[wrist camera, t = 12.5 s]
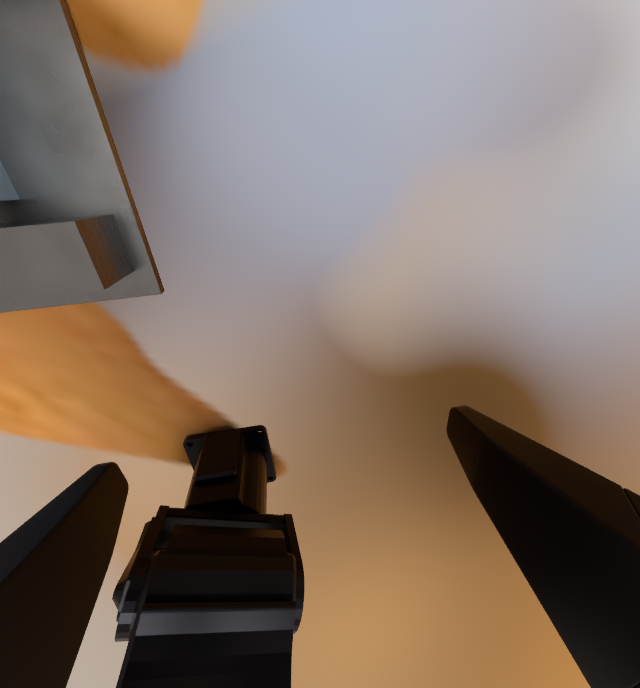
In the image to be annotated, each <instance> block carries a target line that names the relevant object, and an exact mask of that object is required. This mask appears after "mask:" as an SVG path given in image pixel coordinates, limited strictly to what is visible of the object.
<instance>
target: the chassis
mask: <svg viewBox="0 0 640 688" xmlns="http://www.w3.org/2000/svg"><path fill="white" fill-rule="evenodd" d="M0 161H1V163H2V165H3V167H4V169H5V171H6V173H7V175H8V177H9V178H10V180H11V182H12V184H13V186H14V188H15V190H16V192H17V194H18V196H19V198H20V199H19V200H7V201H0V313H2V312H11V311H19V310H28V309H36V308H45V307H54V306H62V305H71V304H80V303H88V302H97V301H105V300H113V299H123V298H130V297H139V296H148V295H157V294H162V293H163V292H164V288H163V285H162V282H161V279H160V276H159V273H158V270H157V267H156V264H155V262H154V258H153V256H152V253H151V250H150V247H149V244H148V241H147V238H146V235H145V232H144V229H143V226H142V223H141V220H140V218H139V215H138V211H137V209H136V206H135V203H134V200H133V197H132V194H131V191H130V188H129V185H128V182H127V179H126V176H125V173H124V171H123V167H122V165H121V162H120V159H119V156H118V153H117V150H116V147H115V144H114V141H113V138H112V135H111V132H110V129H109V126H108V123H107V120H106V118H105V115H104V112H103V109H102V106H101V103H100V100H99V97H98V94H97V91H96V88H95V85H94V82H93V79H92V76H91V74H90V71H89V68H88V65H87V62H86V59H85V56H84V53H83V50H82V47H81V44H80V41H79V38H78V35H77V32H76V29H75V27H74V24H73V21H72V18H71V15H70V12H69V9H68V6H67V3H66V0H0Z"/></svg>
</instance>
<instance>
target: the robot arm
mask: <svg viewBox="0 0 640 688" xmlns="http://www.w3.org/2000/svg"><path fill="white" fill-rule="evenodd" d="M258 431H262V432H258ZM447 435H448V438H449V440H450V442H451V444H452V446H453V449H454V451H455V453H456V455H457V457H458V459H459V461H460V463H461V465H462V468H463V470H464V472H465V474H466V476H467V478H468V480H469V482H470V484H471V486H472V488H473V490H474V492H475V494H476V495H477V497H478V499H479V500H480V502H481V504H482V505H483V507H484V509H485V511H486V512H487V514H488V516H489V517H490V519H491V521H492V522H493V524H494V526H495V527H496V529H497V531H498V532H499V534H500V536H501V538H502V539H503V541H504V543H505V544H506V546H507V548H508V549H509V551H510V553H511V554H512V556H513V558H514V559H515V561H516V563H517V564H518V566H519V568H520V569H521V571H522V572H523V574H524V576H525V578H526V579H527V581H528V583H529V585H530V586H531V588H532V590H533V591H534V593H535V595H536V596H537V598H538V600H539V601H540V603H541V605H542V606H543V608H544V610H545V611H546V613H547V615H548V616H549V618H550V620H551V621H552V623H553V625H554V626H555V628H556V630H557V632H558V633H559V635H560V637H561V638H562V640H563V641H564V643H565V645H566V647H567V648H568V650H569V652H570V653H571V655H572V657H573V658H574V660H575V662H576V663H577V665H578V667H579V669H580V670H581V672H582V674H583V675H584V677H585V679H586V680H587V682H588V684H589V685H590V687H591V688H640V496H639V495H637V494H636V493H634V492H632V491H630V490H628V489H625V488H624V489H623V488H622V487H621V486H620V485H618V484H616V483H614V482H612V481H610V480H608V479H607V478H605V477H603V476H601V475H599V474H597V473H595V472H593V471H591V470H589V469H588V468H586V467H584V466H582V465H580V464H578V463H576V462H574V461H572V460H570V459H568V458H566V457H565V456H562V455H561V454H559V453H557V452H555V451H553V450H551V449H549V448H547V447H545V446H543V445H542V444H539V443H538V442H536V441H534V440H532V439H530V438H528V437H526V436H524V435H522V434H520V433H519V432H517V431H515V430H513V429H511V428H509V427H507V426H505V425H503V424H501V423H499V422H497V421H496V420H493V419H492V418H490V417H488V416H486V415H484V414H482V413H480V412H478V411H476V410H474V409H472V408H471V407H468V406H466V405H462V406H456V407H452V408H451V409H450V412H449V417H448V423H447ZM189 442H191V443H189ZM183 446H184V448H185V451H186V453H187V455H188V458H189V460H190V463H191V465H192V467H193V470H194V473H193V477H192V480H191V484H190V488H189V492H188V495H187V500H186V503H185V506H184V508H183V509H182V508H169V506H162V505H161V506H160V507H159V510H158V512H157V515H156V517H153V518H152V520H151V521H149V522H147V523H146V524H145V526H144V529H143V532H142V534H141V537H140V540H139V542H138V545H137V547H136V550H135V552H134V554H133V556H132V558H131V560H130V562H129V563H128V565H127V567H126V569H125V570H124V572H123V574H122V576H121V578H120V580H119V581H118V583H117V585H116V588H115V591H114V594H113V598H112V599H113V601H114V603H115V605H116V607H117V609H118V615H117V622H118V626H117V630H116V636H115V642H117V641H129V642H128V646H127V650H126V654H125V657H124V660H123V664H122V668H121V671H120V675H119V679H118V682H117V686H116V688H291V656H292V641H293V634H294V633H295V632H296V631H297V630H298V627H299V625H300V621H301V617H302V611H303V602H304V571H303V564H302V559H301V555H300V550H299V545H298V541H297V536H296V532H295V528H294V523H293V518H292V515H291V514H284V515H273V514H266V499H267V483H268V482H272V481H274V480H275V479H276V471H275V466H274V462H273V457H272V453H271V448H270V444H269V439H268V435H267V430H266V428H265V427H264V426H262V425H258V426H251V427H245V428H239V429H232V430H226V431H220V432H213V433H207V434H201V435H194V436H189V437H186V438H185V440H184V443H183ZM127 494H128V482H127V480H126V478H125V477H124V475H123V473H122V472H121V470H120V468H119V467H118V465H117V464H116V463H114V462H108V463H102V464H98V465H95V466H93V467H92V468H91V469H90V470H88V471H87V472H86V473H85V474H84V475H82V476H81V477H80V478H79V479H77V480H76V481H75V482H74V483H73V484H71V485H70V486H69V487H68V488H66V489H65V490H64V491H63V492H62V493H60V494H59V495H58V496H57V497H56V498H54V499H53V500H52V501H51V502H50V503H48V504H47V505H46V506H45V507H43V508H42V509H41V510H40V511H39V512H37V513H36V514H35V515H34V516H32V517H31V518H30V519H29V520H28V521H26V522H25V523H24V524H23V525H21V526H20V527H19V528H18V529H17V530H15V531H14V532H13V533H12V534H10V535H9V536H8V537H7V538H6V539H4V540H3V541H2V542H1V543H0V688H66V685H67V682H68V679H69V676H70V674H71V671H72V668H73V665H74V663H75V660H76V657H77V654H78V651H79V648H80V646H81V643H82V640H83V637H84V634H85V631H86V628H87V626H88V623H89V620H90V617H91V614H92V611H93V609H94V606H95V603H96V600H97V597H98V594H99V591H100V589H101V586H102V583H103V580H104V577H105V575H106V572H107V569H108V566H109V563H110V560H111V557H112V554H113V550H114V546H115V543H116V538H117V534H118V530H119V526H120V522H121V518H122V514H123V510H124V506H125V502H126V498H127Z"/></svg>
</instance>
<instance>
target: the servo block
mask: <svg viewBox="0 0 640 688" xmlns="http://www.w3.org/2000/svg"><path fill="white" fill-rule="evenodd" d="M19 199H20V198H19V196H18V194H17V192H16V190H15V188H14V186H13V184H12V182H11V180H10V178H9V177H8V175H7V173H6V171H5V169H4V167H3V165H2V163H1V161H0V201H7V200H19Z"/></svg>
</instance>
